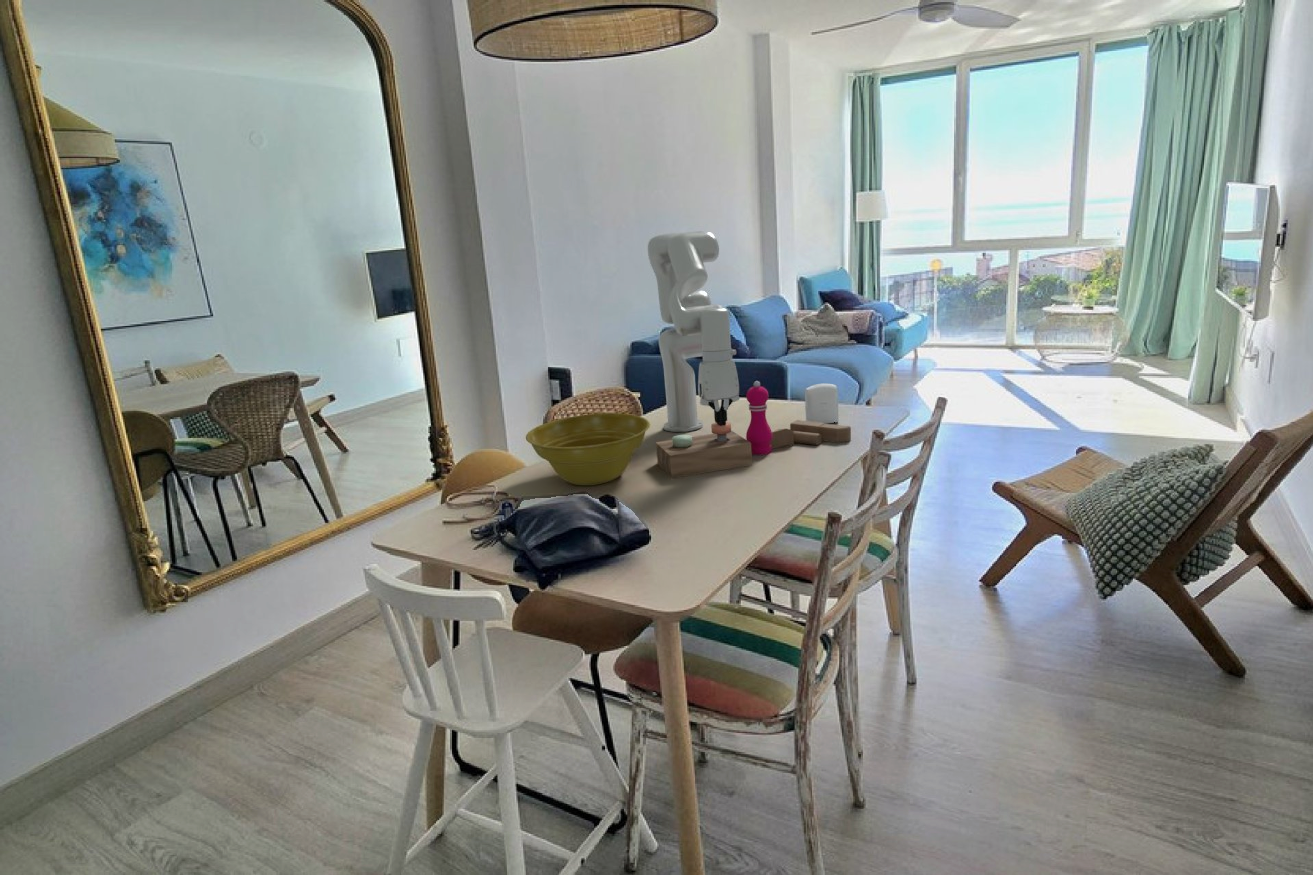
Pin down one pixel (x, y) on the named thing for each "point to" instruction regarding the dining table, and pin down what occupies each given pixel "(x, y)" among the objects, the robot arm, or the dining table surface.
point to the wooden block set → (809, 434)
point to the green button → (682, 441)
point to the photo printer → (821, 403)
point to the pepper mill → (758, 420)
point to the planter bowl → (589, 445)
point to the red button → (721, 431)
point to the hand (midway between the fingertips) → (721, 424)
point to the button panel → (704, 455)
